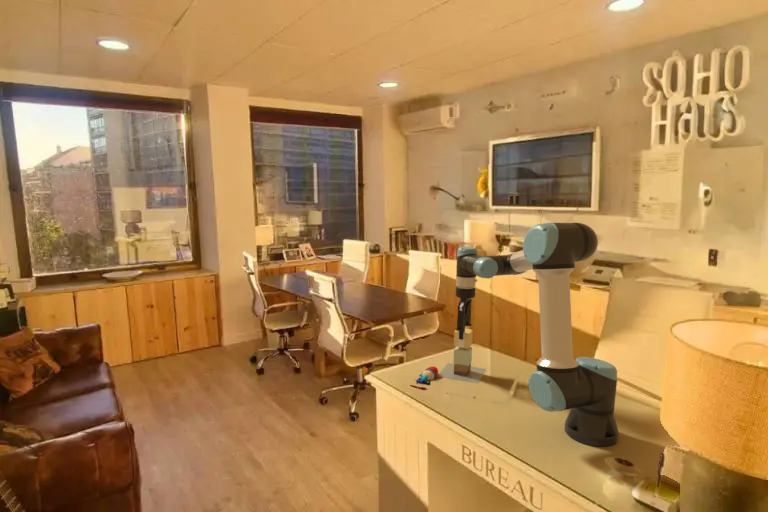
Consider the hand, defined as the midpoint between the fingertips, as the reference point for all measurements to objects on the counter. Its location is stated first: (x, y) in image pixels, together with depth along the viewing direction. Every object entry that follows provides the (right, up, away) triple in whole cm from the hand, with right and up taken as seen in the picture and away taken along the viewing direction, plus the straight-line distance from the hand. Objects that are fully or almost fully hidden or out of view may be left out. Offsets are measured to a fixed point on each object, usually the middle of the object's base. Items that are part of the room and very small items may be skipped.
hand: (463, 344), depth 190 cm
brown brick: (0, -12, +2) cm, 12 cm away
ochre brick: (0, 0, 0) cm, 0 cm away
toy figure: (-15, -14, -5) cm, 21 cm away
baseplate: (0, -13, +2) cm, 13 cm away
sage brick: (0, -8, +1) cm, 8 cm away
